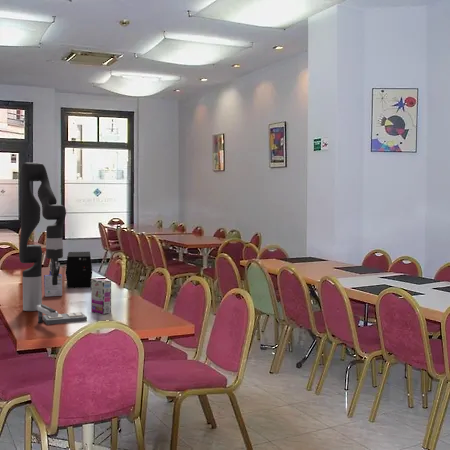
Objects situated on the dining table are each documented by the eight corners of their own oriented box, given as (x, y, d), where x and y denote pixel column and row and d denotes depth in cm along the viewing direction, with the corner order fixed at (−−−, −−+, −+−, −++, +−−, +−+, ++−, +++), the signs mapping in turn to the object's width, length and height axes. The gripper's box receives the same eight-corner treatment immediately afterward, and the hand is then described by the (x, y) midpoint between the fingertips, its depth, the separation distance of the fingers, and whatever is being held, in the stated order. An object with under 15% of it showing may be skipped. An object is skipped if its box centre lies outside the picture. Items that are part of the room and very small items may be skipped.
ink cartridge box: (61, 294, 351) (61, 269, 350) (62, 295, 346) (62, 271, 345) (43, 295, 347) (43, 270, 346) (45, 296, 342) (44, 271, 341)
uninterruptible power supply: (91, 280, 408) (91, 251, 407) (92, 288, 375) (92, 256, 374) (67, 281, 404) (66, 251, 403) (65, 288, 371) (65, 257, 370)
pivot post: (37, 322, 274) (37, 310, 274) (42, 321, 275) (42, 309, 275) (38, 323, 272) (38, 310, 272) (43, 322, 273) (42, 310, 273)
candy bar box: (111, 313, 295) (111, 280, 294) (103, 315, 291) (103, 281, 291) (99, 310, 303) (99, 278, 302) (90, 311, 299) (90, 279, 298)
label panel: (42, 319, 280) (42, 313, 280) (81, 316, 288) (81, 310, 288) (47, 324, 269) (47, 318, 269) (86, 321, 277) (86, 315, 277)
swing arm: (35, 309, 274) (35, 303, 274) (42, 308, 276) (42, 302, 276) (51, 317, 256) (51, 311, 256) (58, 316, 258) (58, 310, 258)
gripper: (43, 246, 279) (44, 283, 280) (48, 249, 267) (48, 287, 268) (60, 246, 282) (60, 282, 283) (65, 248, 271) (65, 286, 272)
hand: (54, 284), depth 276 cm, fingers closed
